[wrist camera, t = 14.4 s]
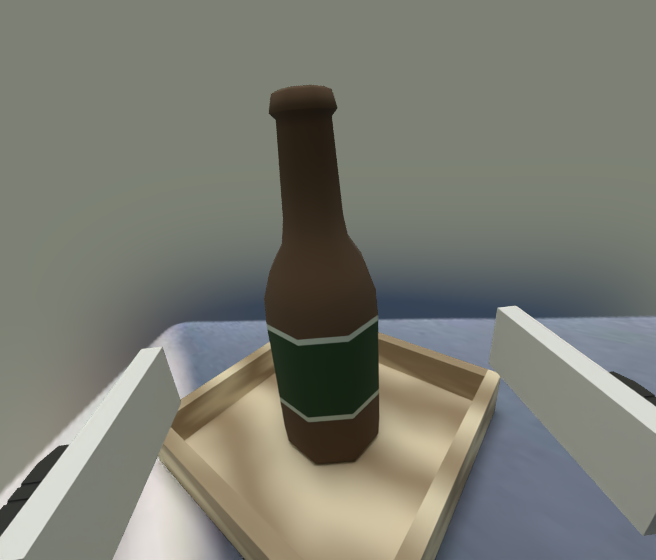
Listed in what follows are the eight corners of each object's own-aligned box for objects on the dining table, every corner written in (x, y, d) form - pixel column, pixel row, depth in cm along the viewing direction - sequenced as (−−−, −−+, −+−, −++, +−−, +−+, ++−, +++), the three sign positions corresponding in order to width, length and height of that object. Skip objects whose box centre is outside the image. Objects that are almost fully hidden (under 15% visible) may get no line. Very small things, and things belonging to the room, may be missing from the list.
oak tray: (319, 339, 39) (316, 311, 38) (494, 410, 27) (501, 373, 26) (159, 459, 25) (144, 422, 24) (373, 711, 13) (372, 671, 12)
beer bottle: (305, 489, 21) (239, 72, 12) (274, 410, 28) (216, 102, 18) (400, 442, 24) (409, 73, 15) (352, 380, 31) (336, 98, 21)
